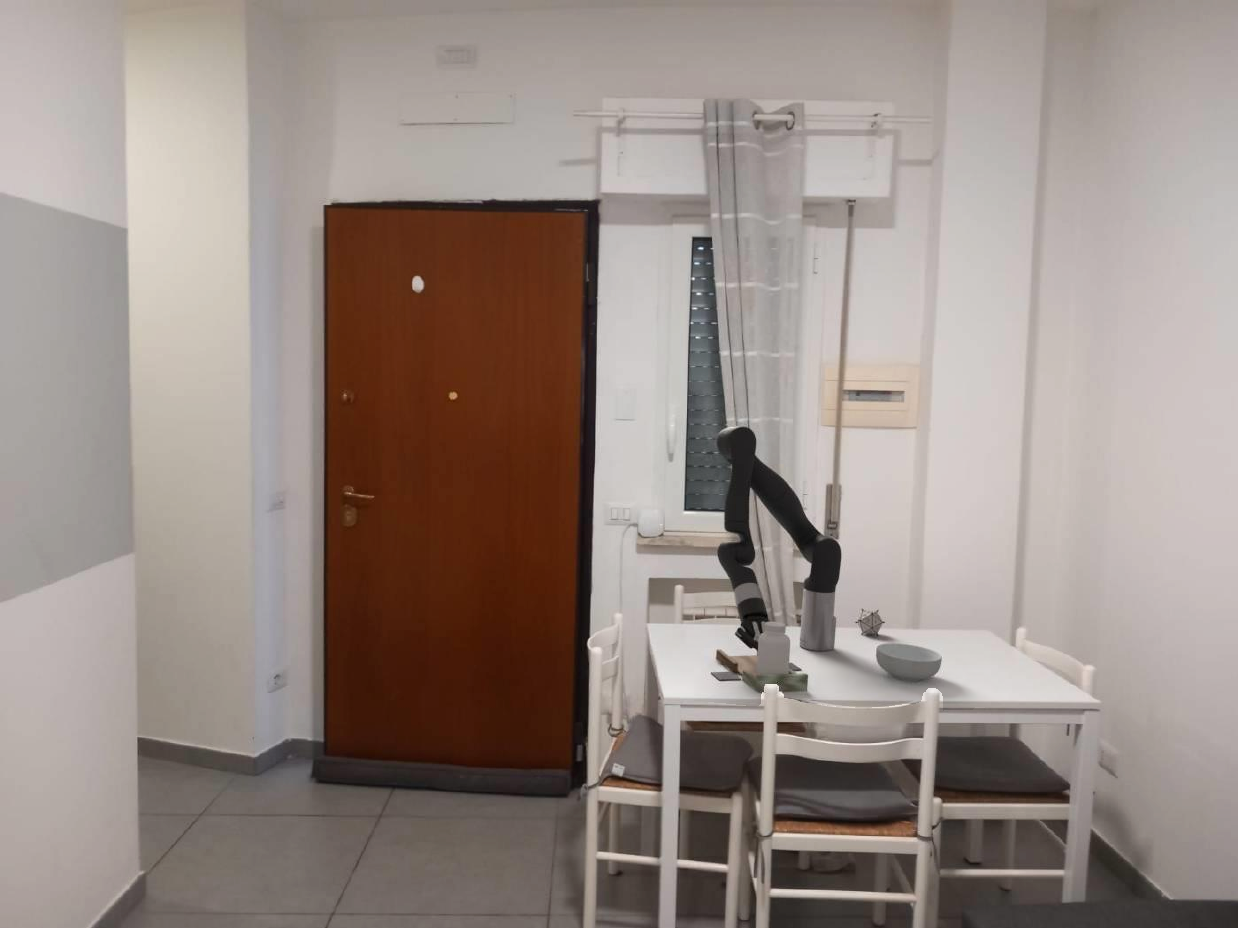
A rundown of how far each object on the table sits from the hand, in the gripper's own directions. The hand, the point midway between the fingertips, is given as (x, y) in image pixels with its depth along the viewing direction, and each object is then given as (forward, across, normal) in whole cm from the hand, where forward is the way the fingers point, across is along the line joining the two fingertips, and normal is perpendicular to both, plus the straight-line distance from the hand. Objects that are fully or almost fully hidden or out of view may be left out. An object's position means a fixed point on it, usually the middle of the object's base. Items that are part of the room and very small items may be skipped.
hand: (766, 661), depth 227 cm
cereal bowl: (+5, +40, +1) cm, 40 cm away
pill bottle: (+6, 0, -1) cm, 6 cm away
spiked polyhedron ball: (-24, +53, +30) cm, 65 cm away
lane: (0, 0, +6) cm, 6 cm away
